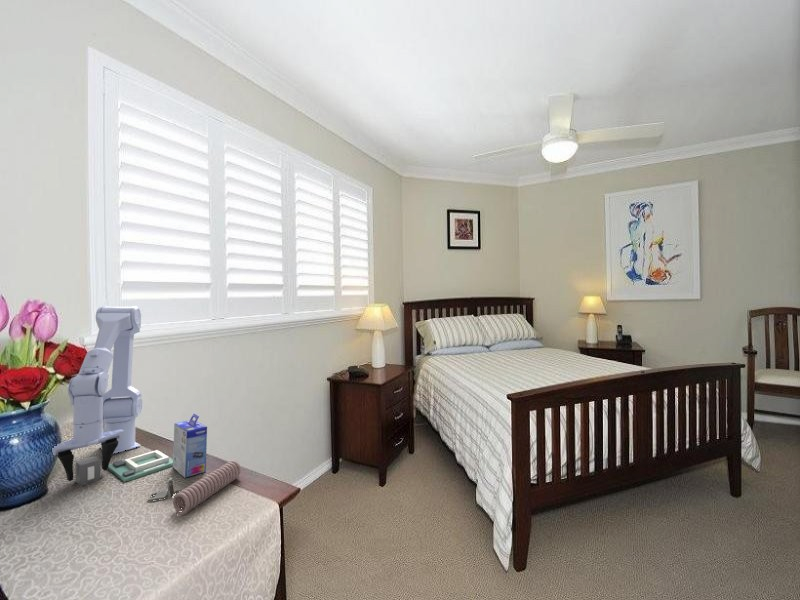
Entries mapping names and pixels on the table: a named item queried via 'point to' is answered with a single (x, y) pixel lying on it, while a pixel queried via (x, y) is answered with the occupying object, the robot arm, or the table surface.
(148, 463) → the board
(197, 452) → the ink cartridge box
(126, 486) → the table surface
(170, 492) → the strap clip
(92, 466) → the plug
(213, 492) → the coil
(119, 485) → the table surface
